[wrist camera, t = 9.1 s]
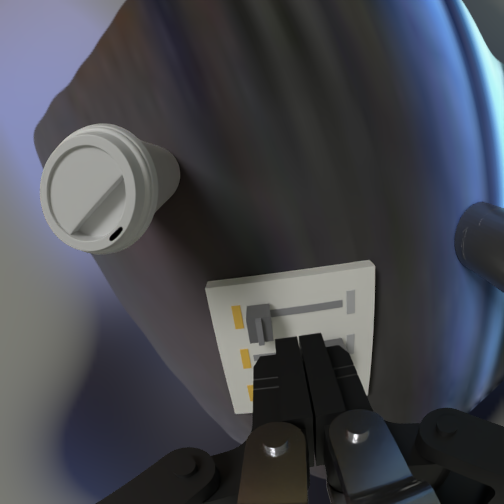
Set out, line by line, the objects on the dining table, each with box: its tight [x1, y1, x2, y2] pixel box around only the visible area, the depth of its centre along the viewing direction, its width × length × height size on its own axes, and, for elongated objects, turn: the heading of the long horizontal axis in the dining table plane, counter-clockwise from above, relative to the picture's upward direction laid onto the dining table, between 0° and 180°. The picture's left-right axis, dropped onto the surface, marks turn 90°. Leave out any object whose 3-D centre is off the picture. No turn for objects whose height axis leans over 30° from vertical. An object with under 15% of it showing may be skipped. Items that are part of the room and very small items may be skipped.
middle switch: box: [324, 338, 347, 351], centre depth 34 cm, size 2×3×4 cm
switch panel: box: [205, 260, 375, 414], centre depth 38 cm, size 19×20×2 cm
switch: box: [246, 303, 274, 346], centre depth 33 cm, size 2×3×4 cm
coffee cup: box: [40, 124, 180, 254], centre depth 25 cm, size 10×10×15 cm
